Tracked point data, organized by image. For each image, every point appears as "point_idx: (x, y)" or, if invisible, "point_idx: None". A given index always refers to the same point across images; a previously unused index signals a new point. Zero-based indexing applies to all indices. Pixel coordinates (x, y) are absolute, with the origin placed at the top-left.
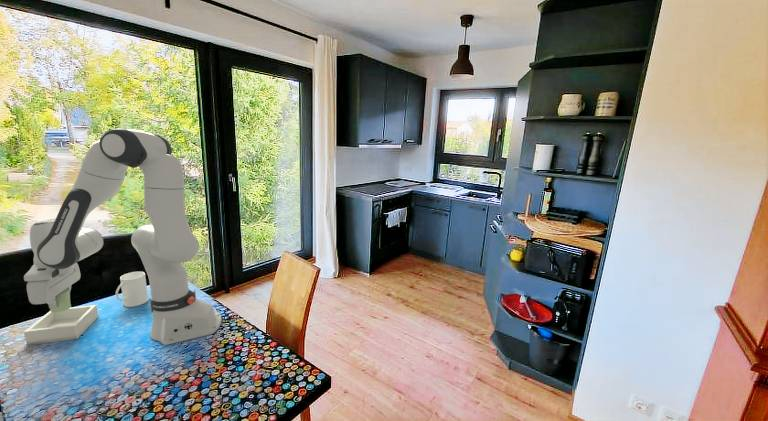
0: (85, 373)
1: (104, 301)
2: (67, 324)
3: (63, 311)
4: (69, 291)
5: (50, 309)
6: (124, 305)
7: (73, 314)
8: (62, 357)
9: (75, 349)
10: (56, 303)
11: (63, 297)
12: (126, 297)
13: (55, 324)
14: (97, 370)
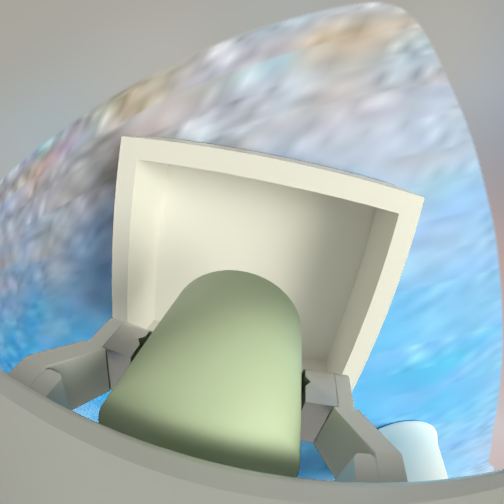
0: (3, 344)
1: (486, 351)
2: (283, 272)
3: (377, 263)
4: (328, 462)
5: (193, 286)
6: (379, 430)
7: (356, 297)
8: (50, 294)
9: (81, 322)
10: (112, 383)
11: None
12: None
13: (318, 211)
14: (11, 363)
